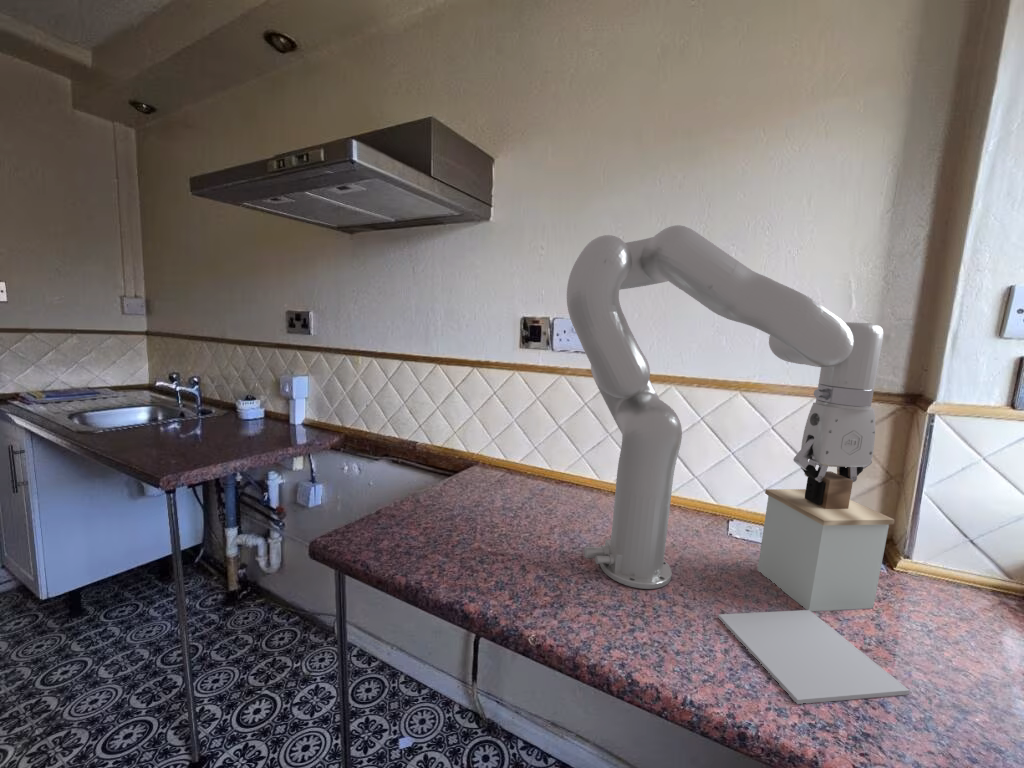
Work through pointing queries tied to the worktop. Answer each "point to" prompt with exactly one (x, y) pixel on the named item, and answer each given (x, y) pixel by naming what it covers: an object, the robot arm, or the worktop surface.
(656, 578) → the robot arm
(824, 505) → the lid
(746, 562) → the worktop surface
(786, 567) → the box
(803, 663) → the mat
